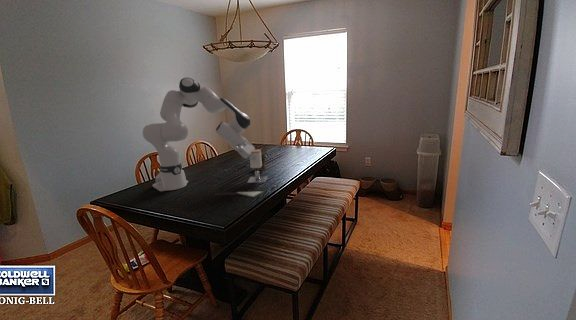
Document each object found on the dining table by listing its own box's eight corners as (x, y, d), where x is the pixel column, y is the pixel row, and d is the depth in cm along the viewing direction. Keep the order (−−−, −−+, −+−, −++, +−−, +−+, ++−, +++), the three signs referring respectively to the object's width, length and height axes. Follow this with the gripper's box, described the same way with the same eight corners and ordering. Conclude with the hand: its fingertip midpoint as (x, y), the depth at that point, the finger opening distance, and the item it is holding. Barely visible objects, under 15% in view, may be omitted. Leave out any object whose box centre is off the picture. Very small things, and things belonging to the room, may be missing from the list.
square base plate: (247, 184, 169) (246, 174, 167) (250, 178, 180) (249, 169, 178) (265, 183, 168) (264, 173, 167) (267, 178, 179) (267, 168, 177)
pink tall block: (250, 168, 168) (249, 151, 166) (252, 165, 174) (251, 149, 172) (260, 167, 168) (259, 151, 166) (262, 165, 174) (260, 149, 171)
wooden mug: (261, 174, 188) (259, 147, 183) (251, 170, 198) (248, 145, 193) (272, 171, 193) (270, 145, 189) (261, 167, 203) (259, 143, 199)
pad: (237, 193, 155) (237, 191, 155) (252, 186, 165) (252, 185, 164) (253, 197, 148) (253, 195, 148) (268, 190, 158) (267, 188, 157)
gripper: (238, 142, 157) (257, 158, 159) (245, 136, 177) (262, 151, 179) (231, 150, 159) (250, 166, 160) (239, 144, 179) (256, 158, 180)
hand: (256, 158), depth 170 cm, fingers closed on pink tall block, 6 cm apart
